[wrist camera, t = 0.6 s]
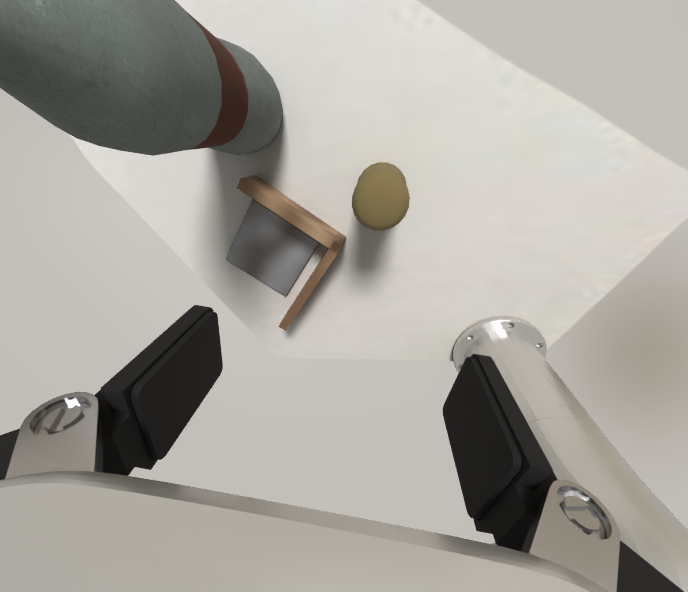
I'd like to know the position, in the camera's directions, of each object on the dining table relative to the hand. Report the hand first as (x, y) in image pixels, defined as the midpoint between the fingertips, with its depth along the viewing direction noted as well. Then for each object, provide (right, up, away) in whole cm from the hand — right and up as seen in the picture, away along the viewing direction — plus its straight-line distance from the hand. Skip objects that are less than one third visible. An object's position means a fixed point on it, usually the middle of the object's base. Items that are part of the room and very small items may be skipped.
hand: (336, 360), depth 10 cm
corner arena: (-10, +9, +29) cm, 31 cm away
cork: (+5, +15, +23) cm, 28 cm away
